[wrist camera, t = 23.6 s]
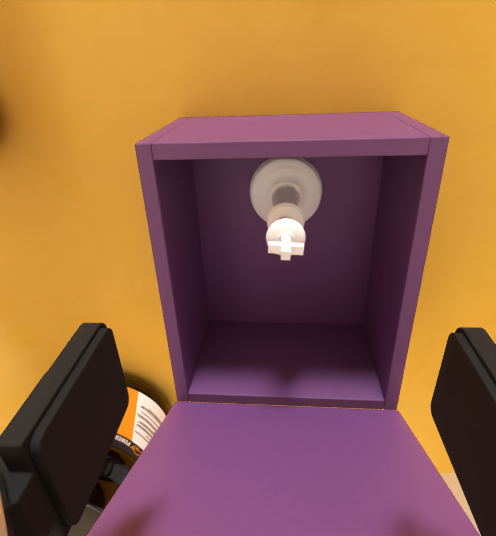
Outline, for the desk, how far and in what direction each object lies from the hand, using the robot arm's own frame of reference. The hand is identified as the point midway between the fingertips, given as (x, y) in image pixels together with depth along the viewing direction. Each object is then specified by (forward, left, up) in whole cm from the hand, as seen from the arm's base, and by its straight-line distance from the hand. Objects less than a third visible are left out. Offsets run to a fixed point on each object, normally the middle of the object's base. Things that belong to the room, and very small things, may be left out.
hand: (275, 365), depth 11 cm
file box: (+4, 0, -19) cm, 19 cm away
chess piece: (0, 0, -18) cm, 18 cm away
